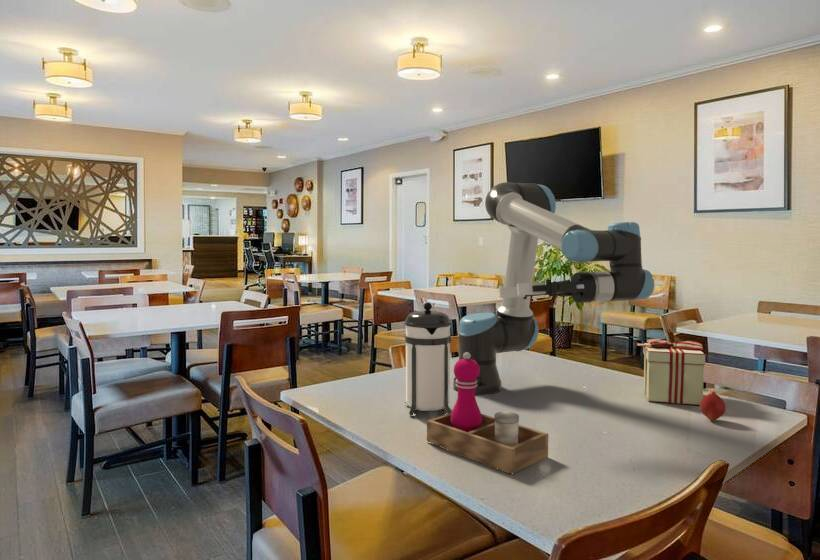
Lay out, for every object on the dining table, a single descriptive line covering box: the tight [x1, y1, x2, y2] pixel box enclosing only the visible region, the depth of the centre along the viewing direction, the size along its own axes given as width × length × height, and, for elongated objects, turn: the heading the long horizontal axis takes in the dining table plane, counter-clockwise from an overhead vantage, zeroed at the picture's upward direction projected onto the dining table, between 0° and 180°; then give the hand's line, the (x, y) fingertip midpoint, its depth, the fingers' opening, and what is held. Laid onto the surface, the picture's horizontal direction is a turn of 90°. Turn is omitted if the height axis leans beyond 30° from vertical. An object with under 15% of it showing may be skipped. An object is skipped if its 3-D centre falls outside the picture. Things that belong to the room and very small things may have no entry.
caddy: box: [426, 411, 549, 475], centre depth 122 cm, size 24×13×9 cm, turn 43°
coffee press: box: [403, 301, 452, 415], centre depth 150 cm, size 17×16×30 cm
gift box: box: [636, 338, 706, 406], centre depth 163 cm, size 17×18×17 cm
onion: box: [699, 390, 727, 422], centre depth 141 cm, size 6×6×8 cm
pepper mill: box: [450, 352, 482, 432], centre depth 126 cm, size 7×7×20 cm
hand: (508, 291), depth 132 cm, fingers open, 13 cm apart
